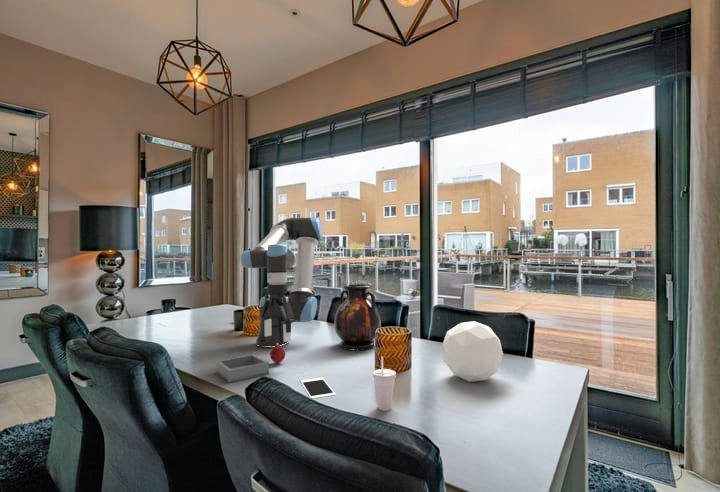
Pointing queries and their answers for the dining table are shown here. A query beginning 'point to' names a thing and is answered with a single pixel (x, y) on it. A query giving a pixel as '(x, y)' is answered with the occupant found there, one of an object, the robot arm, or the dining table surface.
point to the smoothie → (384, 387)
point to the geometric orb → (472, 351)
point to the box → (242, 368)
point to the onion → (277, 354)
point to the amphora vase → (357, 318)
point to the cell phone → (317, 388)
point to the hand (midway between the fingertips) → (277, 338)
